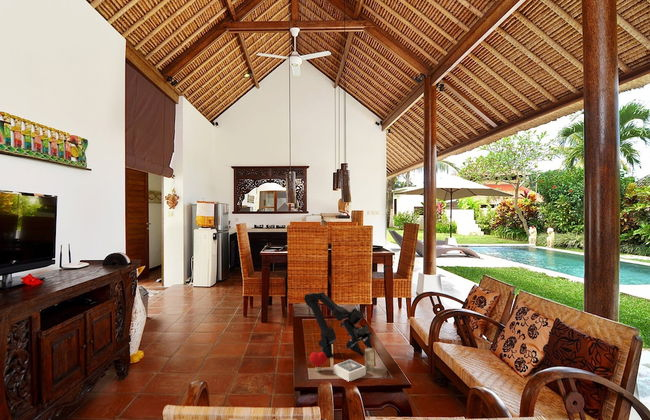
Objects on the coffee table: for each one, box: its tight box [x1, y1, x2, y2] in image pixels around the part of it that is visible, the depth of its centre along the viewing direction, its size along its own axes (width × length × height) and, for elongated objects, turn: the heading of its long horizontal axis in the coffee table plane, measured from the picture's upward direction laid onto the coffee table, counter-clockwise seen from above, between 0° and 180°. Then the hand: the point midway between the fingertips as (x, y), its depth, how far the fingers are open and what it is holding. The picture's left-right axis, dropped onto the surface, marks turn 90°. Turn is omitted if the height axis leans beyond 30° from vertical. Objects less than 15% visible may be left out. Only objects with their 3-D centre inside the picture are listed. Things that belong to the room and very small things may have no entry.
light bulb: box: [309, 351, 328, 373], centre depth 180 cm, size 9×7×10 cm
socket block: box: [333, 359, 367, 383], centre depth 177 cm, size 12×12×5 cm
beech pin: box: [364, 347, 375, 373], centre depth 182 cm, size 5×5×11 cm
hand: (368, 353), depth 183 cm, fingers open, 9 cm apart
